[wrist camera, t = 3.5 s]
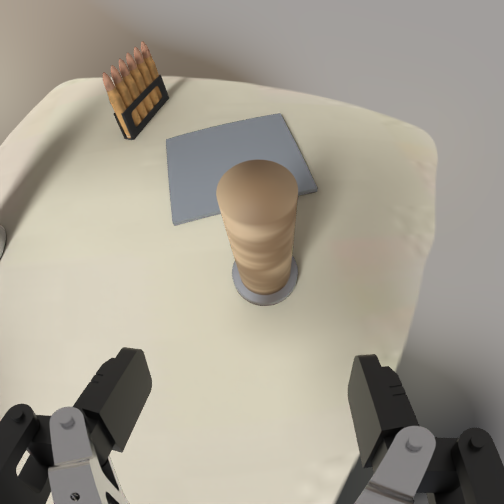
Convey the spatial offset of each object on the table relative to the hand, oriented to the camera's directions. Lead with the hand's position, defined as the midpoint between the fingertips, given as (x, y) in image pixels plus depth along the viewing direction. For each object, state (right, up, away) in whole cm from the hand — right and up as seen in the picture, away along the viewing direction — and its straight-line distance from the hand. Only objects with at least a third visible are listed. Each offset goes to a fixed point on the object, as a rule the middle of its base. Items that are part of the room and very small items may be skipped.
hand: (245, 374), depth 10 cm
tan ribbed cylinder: (+1, +2, +18) cm, 18 cm away
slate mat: (-2, +15, +24) cm, 29 cm away
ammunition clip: (-16, +26, +31) cm, 43 cm away
